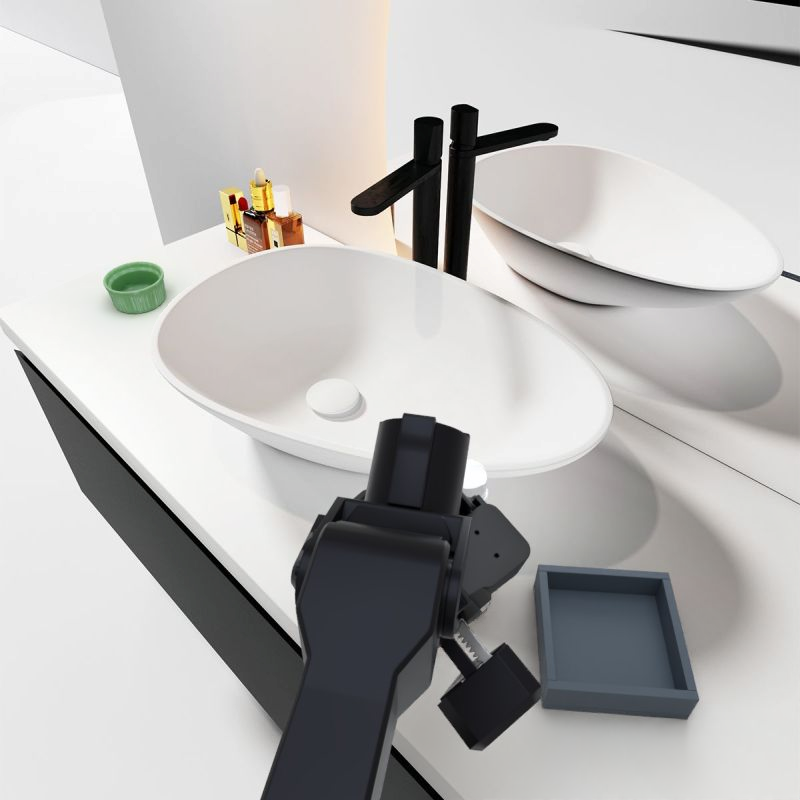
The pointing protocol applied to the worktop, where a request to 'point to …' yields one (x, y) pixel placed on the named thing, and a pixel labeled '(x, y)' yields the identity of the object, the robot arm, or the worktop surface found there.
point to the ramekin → (136, 286)
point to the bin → (611, 643)
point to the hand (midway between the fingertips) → (438, 616)
